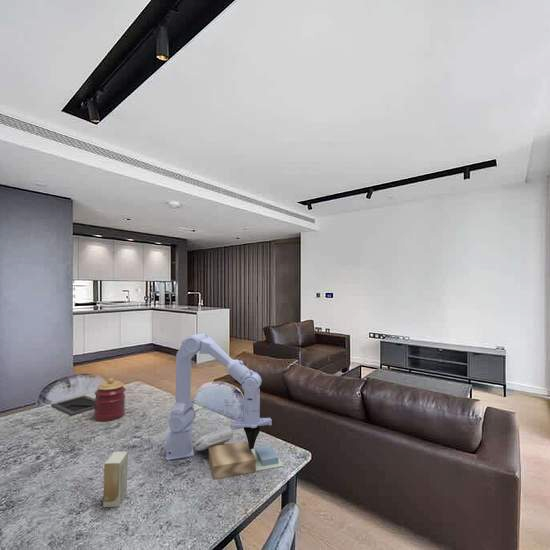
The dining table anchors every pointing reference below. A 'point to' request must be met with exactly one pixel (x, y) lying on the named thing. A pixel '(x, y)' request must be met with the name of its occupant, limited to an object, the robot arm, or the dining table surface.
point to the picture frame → (75, 405)
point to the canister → (109, 400)
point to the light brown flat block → (231, 460)
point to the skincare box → (115, 479)
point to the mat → (260, 468)
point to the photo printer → (214, 439)
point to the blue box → (266, 455)
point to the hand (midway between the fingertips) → (251, 447)
